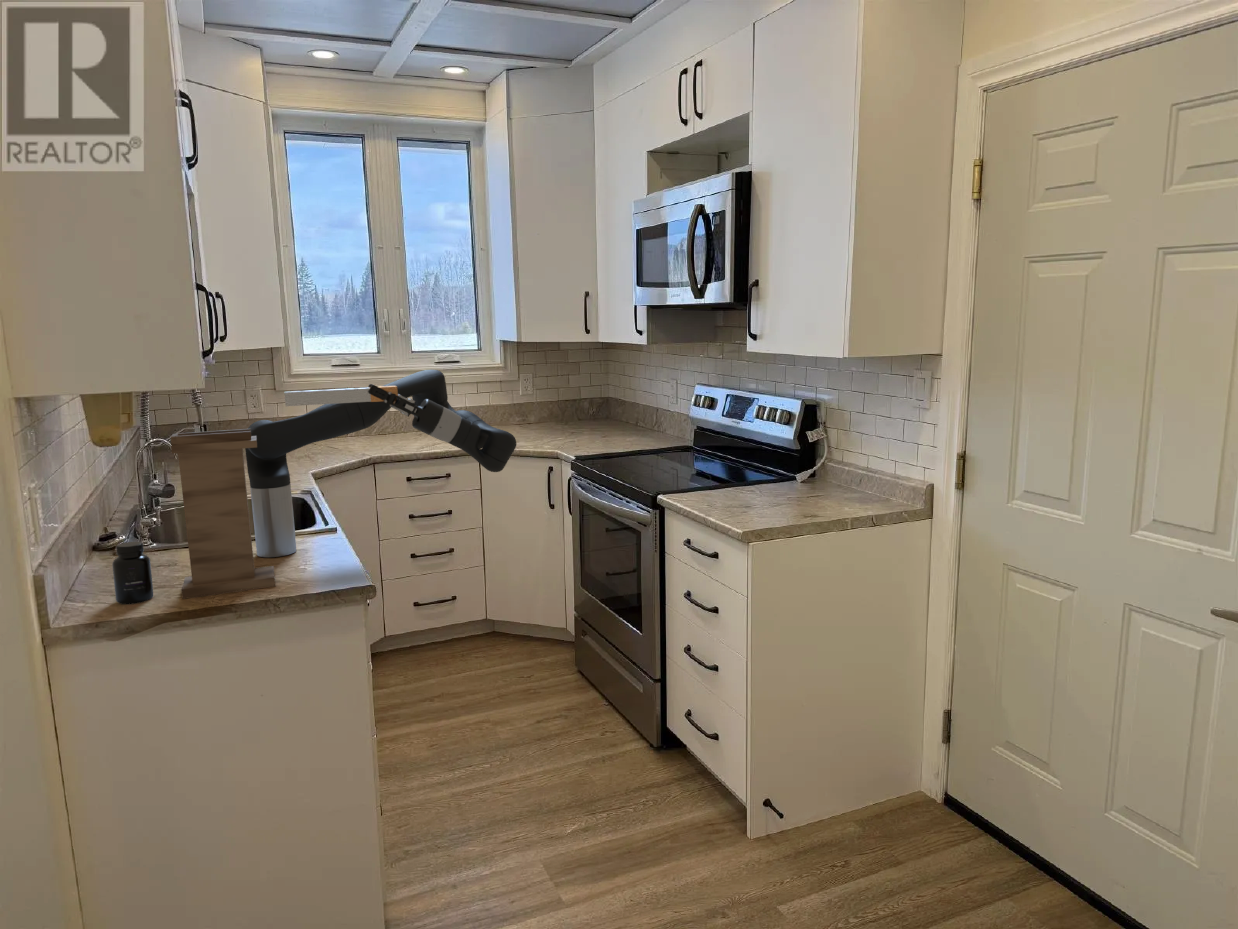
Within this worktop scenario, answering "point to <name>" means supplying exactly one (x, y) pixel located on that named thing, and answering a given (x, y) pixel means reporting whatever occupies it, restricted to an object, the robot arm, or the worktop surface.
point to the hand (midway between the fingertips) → (369, 388)
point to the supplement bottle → (132, 574)
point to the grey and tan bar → (333, 396)
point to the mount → (217, 513)
